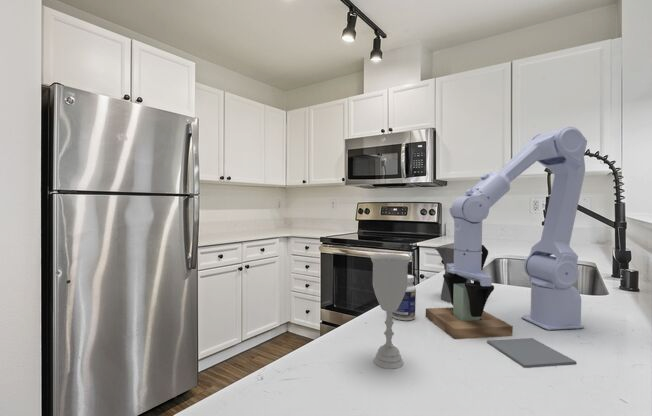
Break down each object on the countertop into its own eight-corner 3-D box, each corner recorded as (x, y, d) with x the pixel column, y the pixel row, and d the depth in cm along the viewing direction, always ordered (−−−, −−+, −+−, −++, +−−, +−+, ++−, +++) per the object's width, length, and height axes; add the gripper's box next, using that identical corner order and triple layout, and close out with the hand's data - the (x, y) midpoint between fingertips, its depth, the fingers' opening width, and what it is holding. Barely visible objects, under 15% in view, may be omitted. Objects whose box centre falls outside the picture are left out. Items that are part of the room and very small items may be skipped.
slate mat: (532, 340, 68) (532, 338, 68) (576, 363, 58) (576, 361, 58) (486, 342, 66) (487, 340, 66) (524, 367, 56) (524, 365, 56)
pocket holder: (475, 314, 83) (475, 306, 83) (512, 335, 70) (512, 326, 70) (425, 316, 81) (425, 308, 81) (454, 338, 68) (454, 328, 68)
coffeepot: (440, 304, 90) (442, 238, 90) (428, 294, 100) (429, 234, 99) (496, 304, 91) (497, 238, 91) (478, 294, 101) (479, 234, 100)
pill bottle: (416, 322, 77) (416, 279, 77) (390, 320, 78) (391, 277, 78) (414, 314, 83) (415, 273, 82) (390, 312, 84) (391, 272, 84)
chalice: (400, 376, 53) (402, 262, 53) (361, 364, 57) (362, 258, 56) (414, 358, 59) (416, 256, 59) (378, 348, 63) (380, 252, 62)
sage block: (468, 322, 78) (469, 283, 77) (479, 328, 74) (480, 287, 73) (452, 322, 77) (453, 283, 77) (462, 329, 73) (463, 288, 73)
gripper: (435, 245, 82) (434, 301, 82) (469, 255, 67) (468, 322, 67) (462, 245, 83) (460, 300, 83) (501, 254, 68) (500, 321, 69)
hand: (466, 310), depth 75 cm, fingers open, 7 cm apart
